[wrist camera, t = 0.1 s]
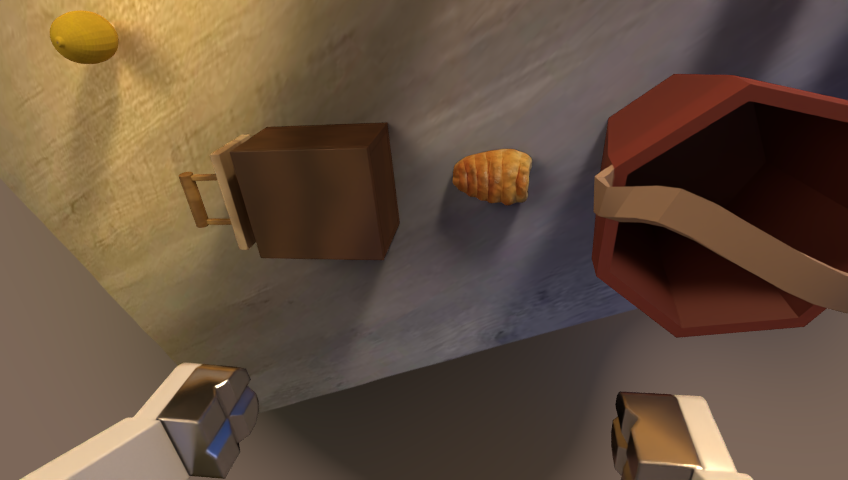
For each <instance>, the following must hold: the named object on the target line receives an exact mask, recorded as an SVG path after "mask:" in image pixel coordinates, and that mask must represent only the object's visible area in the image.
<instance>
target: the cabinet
mask: <svg viewBox="0 0 848 480" xmlns="http://www.w3.org/2000/svg"><path fill="white" fill-rule="evenodd" d="M229 153H230V156H231V159H232V163H233V166H234V169H235V173H236V176H237V179H238V183H239V186H240V190H241V193H242V196H243V200H244V203H245V206H246V210H247V213H248V216H249V220H250V223H251V226H252V230H253V233H254V236H255V240H256V243H257V247H258V250H259V253H260V257H261V258H291V259H347V260H384V258H385V255H386V253H387V251H388V249H389V246H390V244H391V242H392V240H393V237H394V235H395V233H396V231H397V228H398V226H399V224H400V221H399V213H398V205H397V197H396V189H395V181H394V173H393V164H392V156H391V148H390V140H389V132H388V124H387V123H361V124H335V125H308V126H281V127H266V128H265V129H263V130H262V131H260V132H259V133H257V134H256V135H254V136H253V137H251V138H250V139H248V140H247V141H245V142H244V143H242V144H241V145H239V146H238V147H236V148H234V149H233V150H232V151H230V152H229Z"/></svg>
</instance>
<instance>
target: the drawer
mask: <svg viewBox="0 0 848 480" xmlns="http://www.w3.org/2000/svg"><path fill="white" fill-rule="evenodd" d="M250 138H251V137H250V134H248V135H240V136H239V137H237V138H235V139H234V140H232V141H231V142H229V143H228V144H226V145H224V146H223V147H221V148H220V149H218V150H216V151H215V152H213V153H212V154H210V158H211V161H212V164H213V167H214V170H215V174H203V175H193V173H192V172H184V173H181V174H179V179H180V182H181V184H182V187H183V190H184V193H185V195H186V198H187V201H188V204H189V206H190V209H191V212H192V215H193V217H194V220H195V223H196V226H197V227H198V228H202V227H206V226H208V225H232V227H233V230H234V233H235V236H236V239H237V242H238V245H239V248H240V250H249V248H250V247H251V246H252V245H253V244H254V243H255V242H256V240H255V236H254V233H253V230H252V226H251V223H250V220H249V216H248V213H247V210H246V206H245V203H244V200H243V196H242V193H241V190H240V186H239V183H238V179H237V176H236V173H235V169H234V166H233V163H232V159H231V156H230V153H229V152H230V151H232V150H233V149H234V148H236V147H238V146H239V145H241V144H242V143H244V142H245V141H247V140H248V139H250ZM207 180H218V183H219V186H220V189H221V192H222V195H223V199H224V202H225V205H226V208H227V211H228V214H229V217H230V219H208V216H207V213H206V210H205V207H204V204H203V201H202V199H201V196H200V193H199V190H198V187H197V184H196V181H207Z"/></svg>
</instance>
